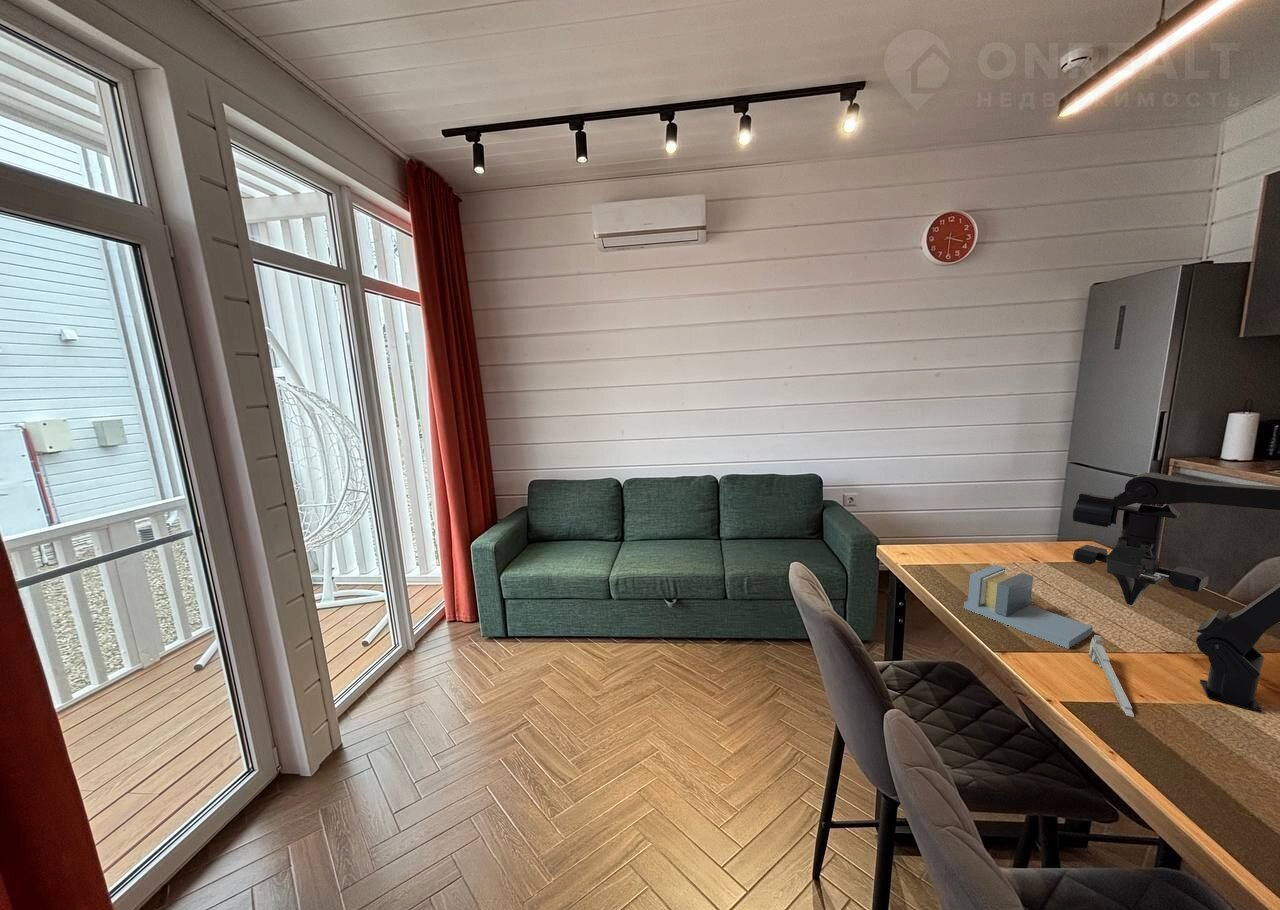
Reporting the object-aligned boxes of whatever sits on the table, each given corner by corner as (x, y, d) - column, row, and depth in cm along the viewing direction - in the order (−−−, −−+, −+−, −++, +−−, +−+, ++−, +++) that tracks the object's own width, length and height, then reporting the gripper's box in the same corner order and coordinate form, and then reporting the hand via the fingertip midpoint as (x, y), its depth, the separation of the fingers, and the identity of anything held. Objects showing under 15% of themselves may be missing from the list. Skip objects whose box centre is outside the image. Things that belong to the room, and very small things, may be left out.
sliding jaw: (1030, 604, 122) (1033, 576, 120) (1005, 616, 116) (1009, 587, 115) (1017, 599, 124) (1020, 572, 123) (992, 611, 119) (995, 582, 117)
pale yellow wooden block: (1013, 602, 123) (1015, 577, 122) (996, 610, 120) (999, 584, 119) (1000, 598, 126) (1002, 573, 125) (983, 605, 122) (986, 580, 121)
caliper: (1088, 657, 103) (1091, 631, 102) (1094, 659, 102) (1098, 632, 101) (1126, 717, 85) (1131, 686, 84) (1134, 719, 85) (1139, 687, 84)
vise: (1091, 634, 111) (1097, 595, 110) (1068, 649, 106) (1073, 608, 104) (988, 597, 130) (991, 563, 129) (963, 608, 125) (966, 573, 123)
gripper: (1065, 528, 101) (1057, 596, 103) (1195, 556, 85) (1181, 635, 87) (1088, 519, 106) (1079, 584, 109) (1215, 544, 90) (1201, 619, 92)
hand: (1130, 604), depth 99 cm, fingers closed
